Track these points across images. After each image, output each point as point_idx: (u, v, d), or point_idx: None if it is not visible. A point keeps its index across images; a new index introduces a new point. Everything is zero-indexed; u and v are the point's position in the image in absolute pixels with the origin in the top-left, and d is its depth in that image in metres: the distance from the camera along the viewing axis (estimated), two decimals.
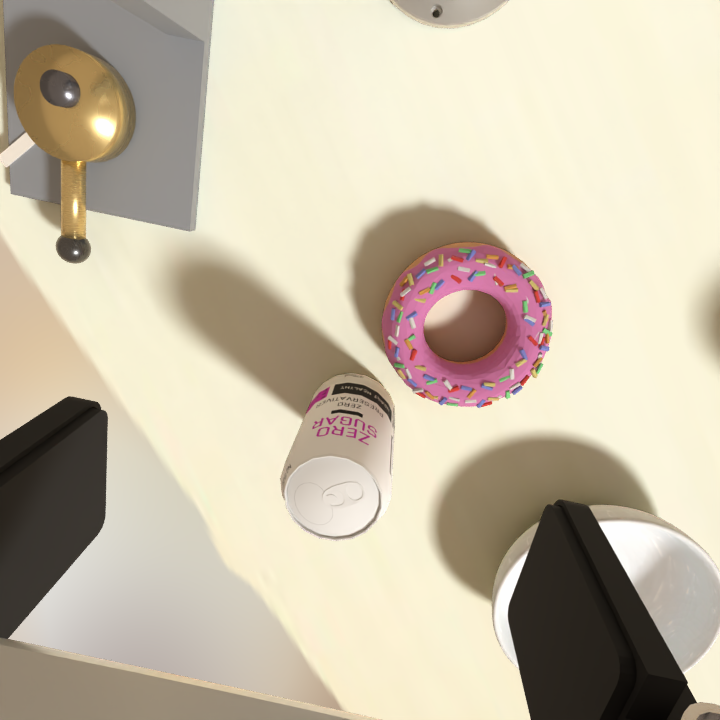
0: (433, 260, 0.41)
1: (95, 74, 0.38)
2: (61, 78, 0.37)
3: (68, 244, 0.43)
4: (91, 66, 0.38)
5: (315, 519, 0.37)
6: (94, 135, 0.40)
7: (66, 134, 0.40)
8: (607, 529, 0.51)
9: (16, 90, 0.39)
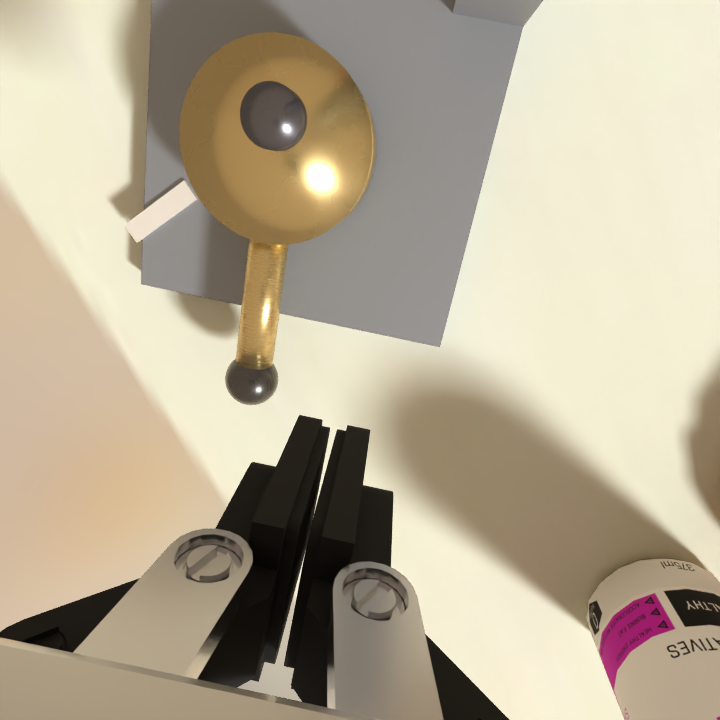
0: None
1: (340, 89, 0.20)
2: (284, 98, 0.19)
3: (251, 380, 0.25)
4: (335, 74, 0.20)
5: None
6: (323, 199, 0.22)
7: (270, 197, 0.22)
8: None
9: (185, 119, 0.21)
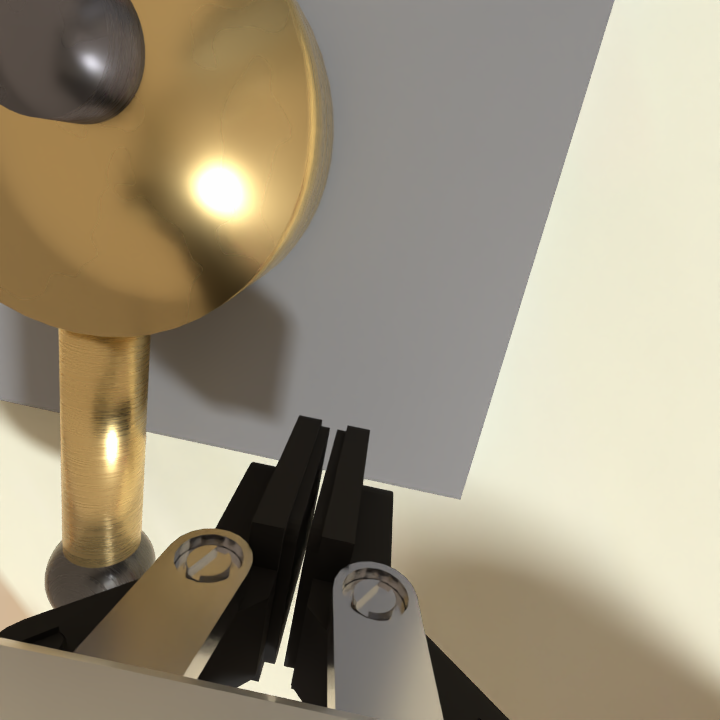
0: None
1: None
2: None
3: (87, 591, 0.12)
4: None
5: None
6: (201, 239, 0.09)
7: (79, 233, 0.09)
8: None
9: None
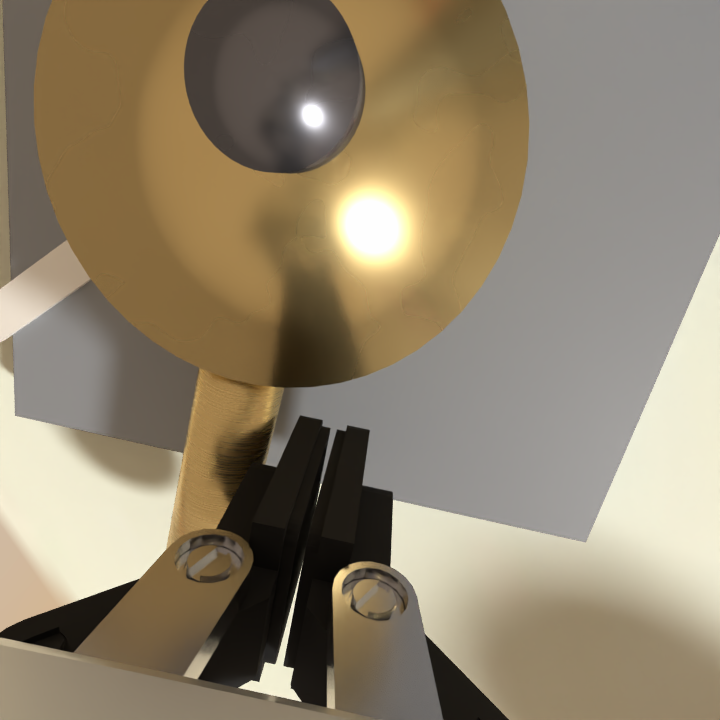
0: None
1: (464, 26, 0.08)
2: (315, 29, 0.07)
3: None
4: None
5: None
6: (384, 298, 0.09)
7: (254, 280, 0.09)
8: None
9: (49, 70, 0.08)
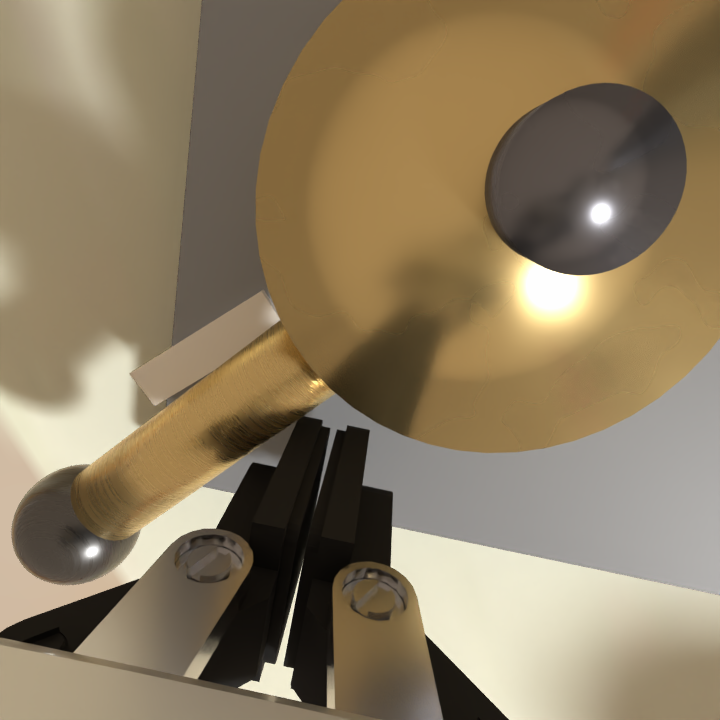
0: None
1: None
2: (656, 179, 0.07)
3: (73, 554, 0.11)
4: None
5: None
6: (496, 397, 0.09)
7: (405, 307, 0.09)
8: None
9: None
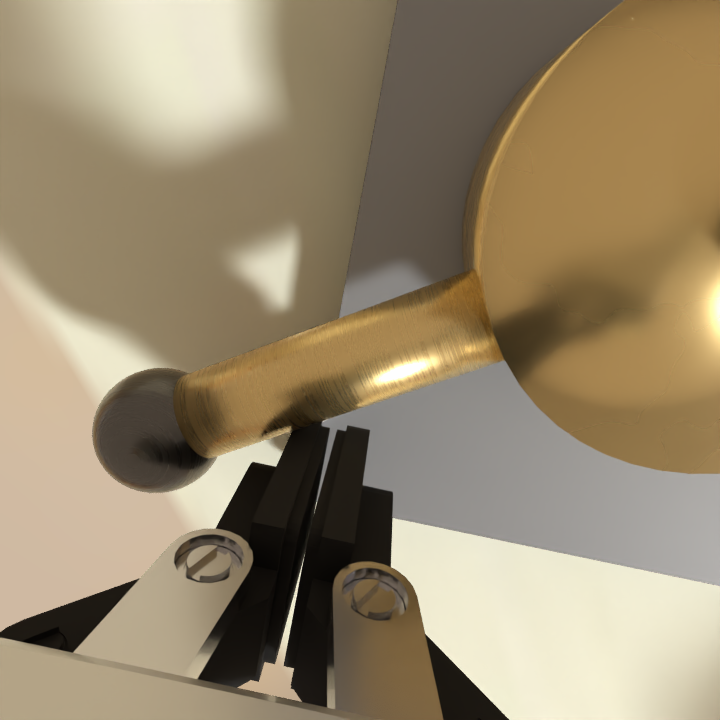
0: None
1: None
2: None
3: (163, 461, 0.10)
4: None
5: None
6: (665, 412, 0.09)
7: (614, 296, 0.08)
8: None
9: None
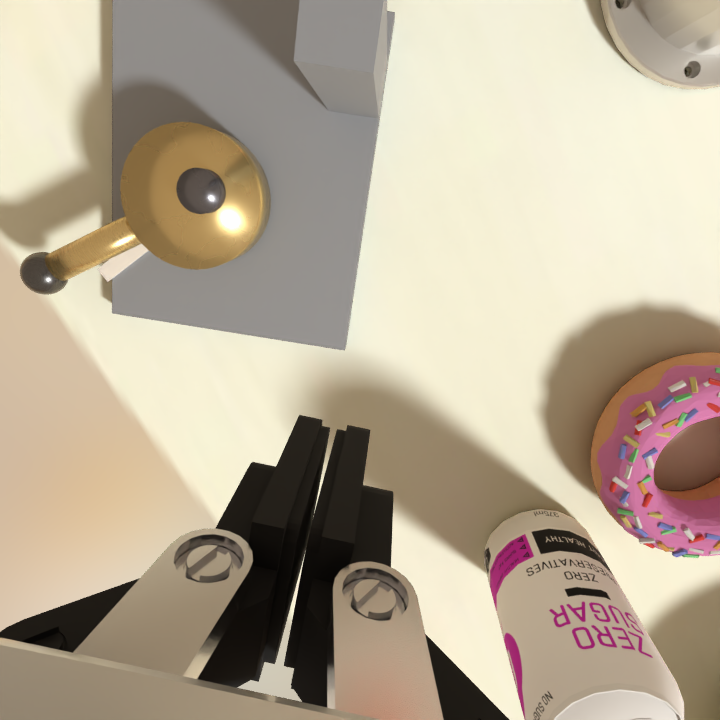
0: (683, 385, 0.31)
1: (247, 219, 0.30)
2: (213, 193, 0.28)
3: (41, 277, 0.31)
4: (251, 210, 0.29)
5: None
6: (184, 249, 0.30)
7: (159, 215, 0.30)
8: None
9: (160, 130, 0.28)
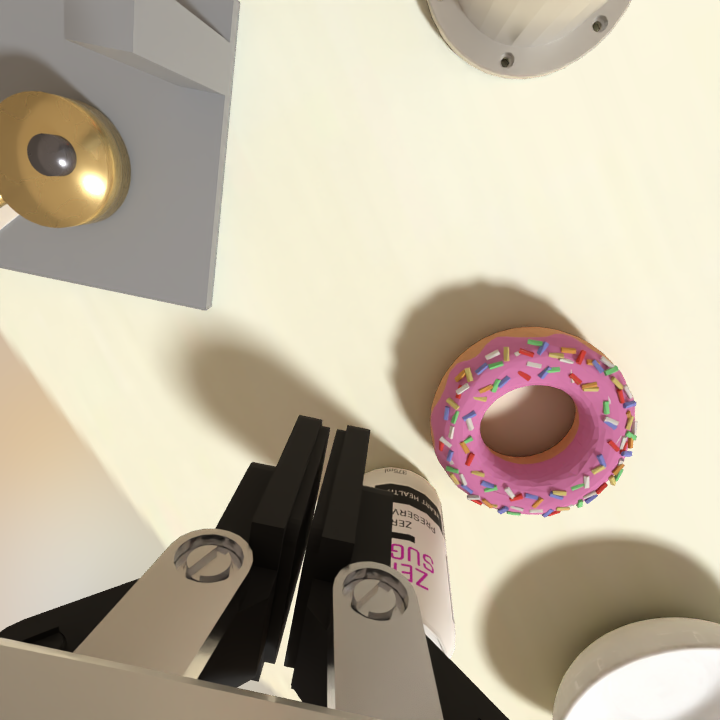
0: (497, 353, 0.34)
1: (96, 183, 0.32)
2: (59, 157, 0.31)
3: None
4: (100, 175, 0.32)
5: None
6: (43, 209, 0.33)
7: (19, 176, 0.33)
8: None
9: (15, 98, 0.31)
